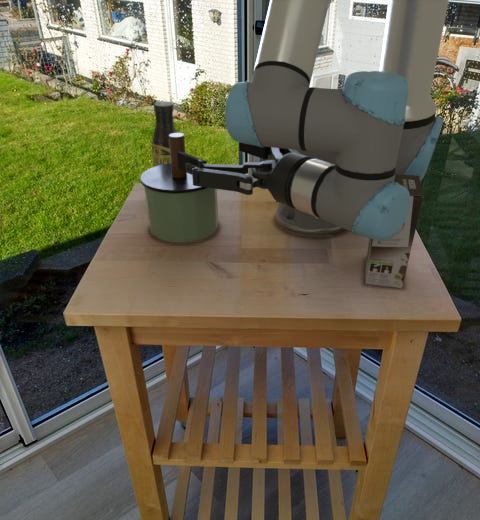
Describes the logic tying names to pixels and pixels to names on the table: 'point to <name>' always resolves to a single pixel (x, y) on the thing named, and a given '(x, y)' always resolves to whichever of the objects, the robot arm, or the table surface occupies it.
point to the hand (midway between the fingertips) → (211, 151)
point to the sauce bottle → (162, 133)
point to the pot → (182, 214)
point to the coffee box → (395, 242)
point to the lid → (170, 172)
